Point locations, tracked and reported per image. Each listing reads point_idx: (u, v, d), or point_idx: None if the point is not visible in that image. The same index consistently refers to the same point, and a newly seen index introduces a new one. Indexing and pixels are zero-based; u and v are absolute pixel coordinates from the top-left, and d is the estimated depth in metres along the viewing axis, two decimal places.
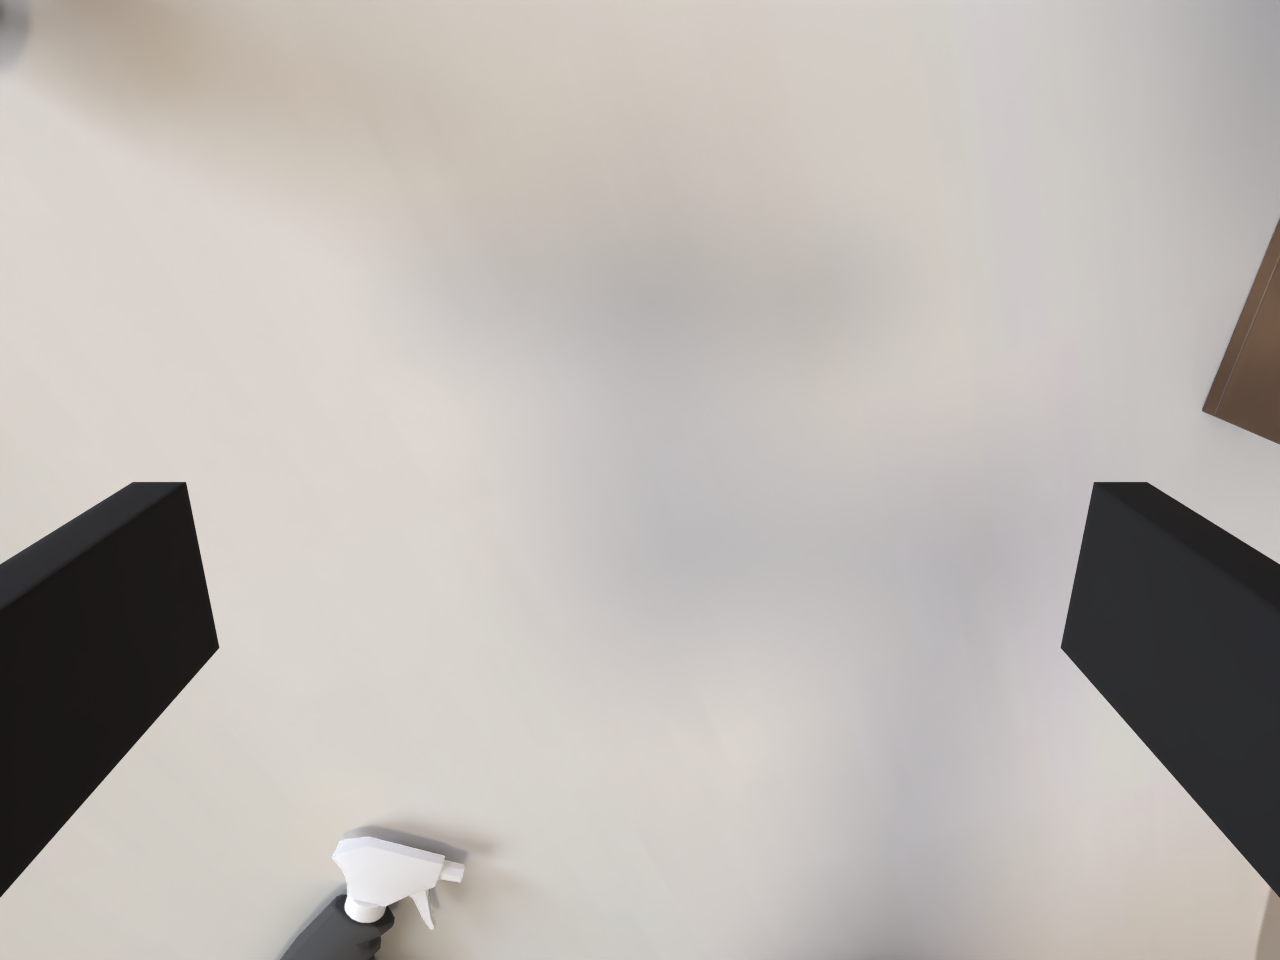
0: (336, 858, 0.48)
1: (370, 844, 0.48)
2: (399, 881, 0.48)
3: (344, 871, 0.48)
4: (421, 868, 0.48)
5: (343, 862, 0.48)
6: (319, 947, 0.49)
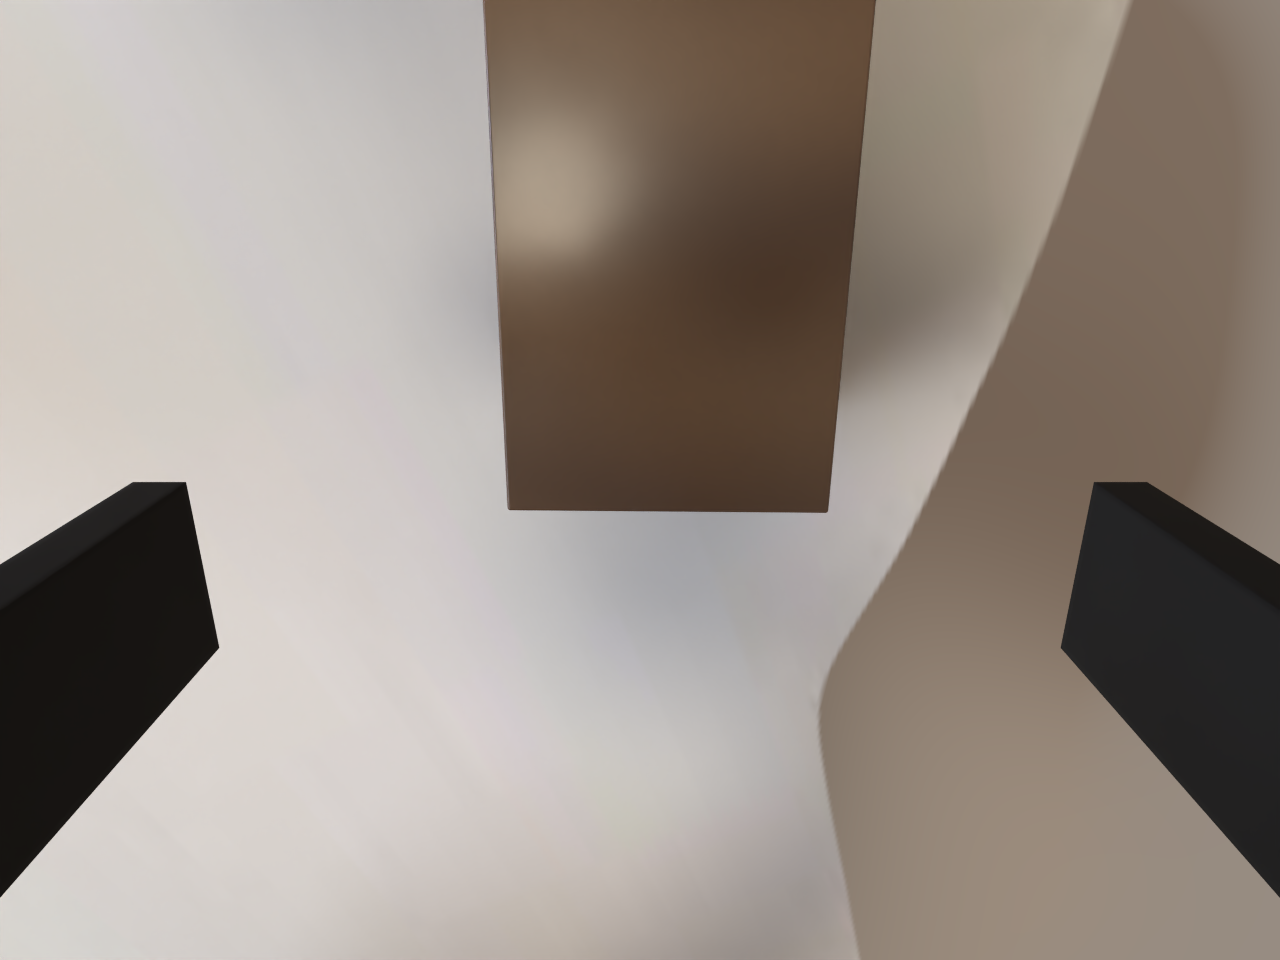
0: None
1: None
2: None
3: None
4: None
5: None
6: None
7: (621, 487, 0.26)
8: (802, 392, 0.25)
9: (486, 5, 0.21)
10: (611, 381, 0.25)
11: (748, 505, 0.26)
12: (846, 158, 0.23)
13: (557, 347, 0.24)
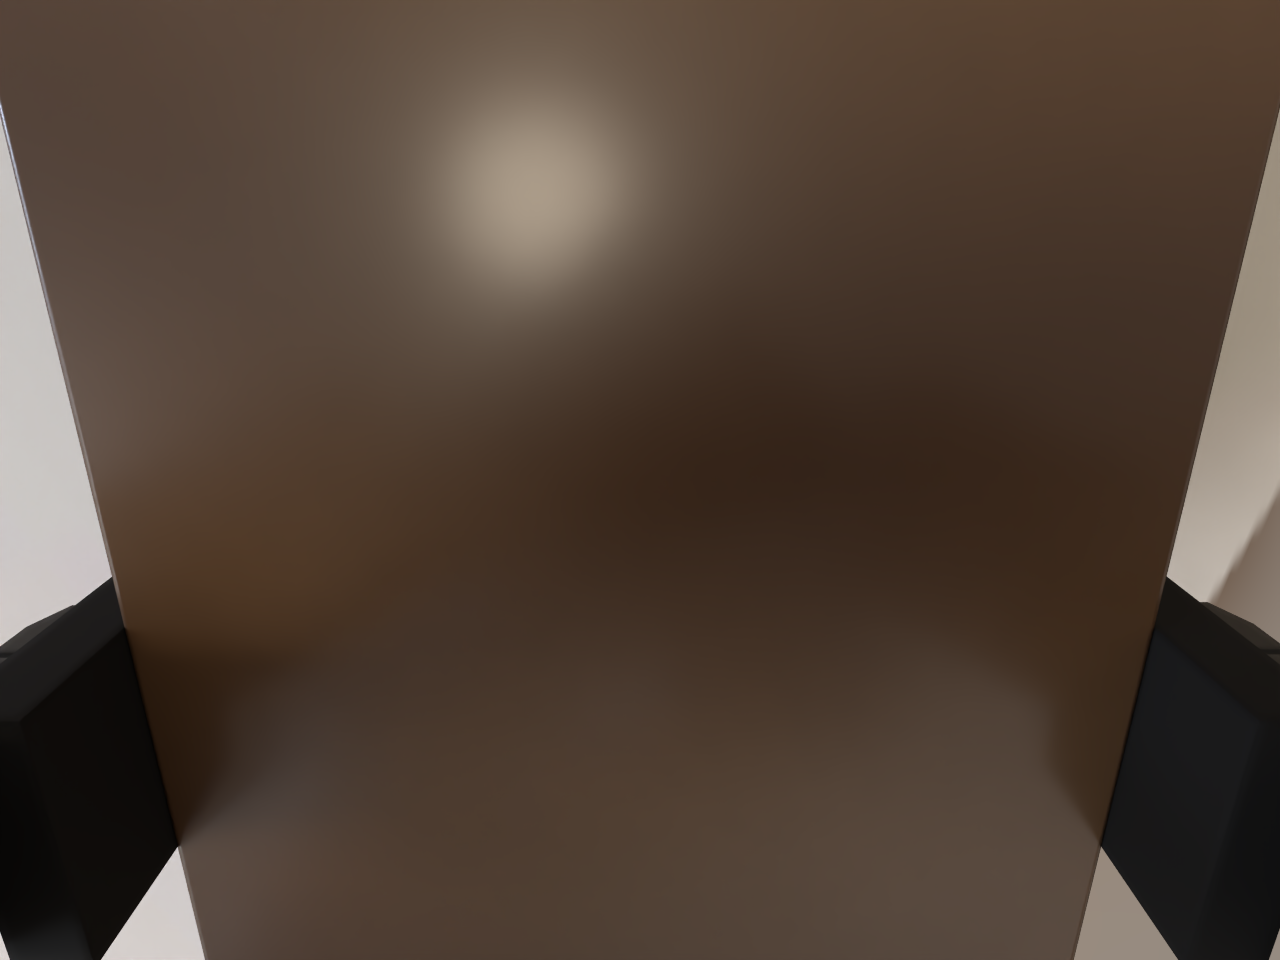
0: None
1: None
2: None
3: None
4: None
5: None
6: None
7: None
8: (1011, 797, 0.09)
9: None
10: (469, 775, 0.09)
11: None
12: (1228, 127, 0.07)
13: (306, 693, 0.08)
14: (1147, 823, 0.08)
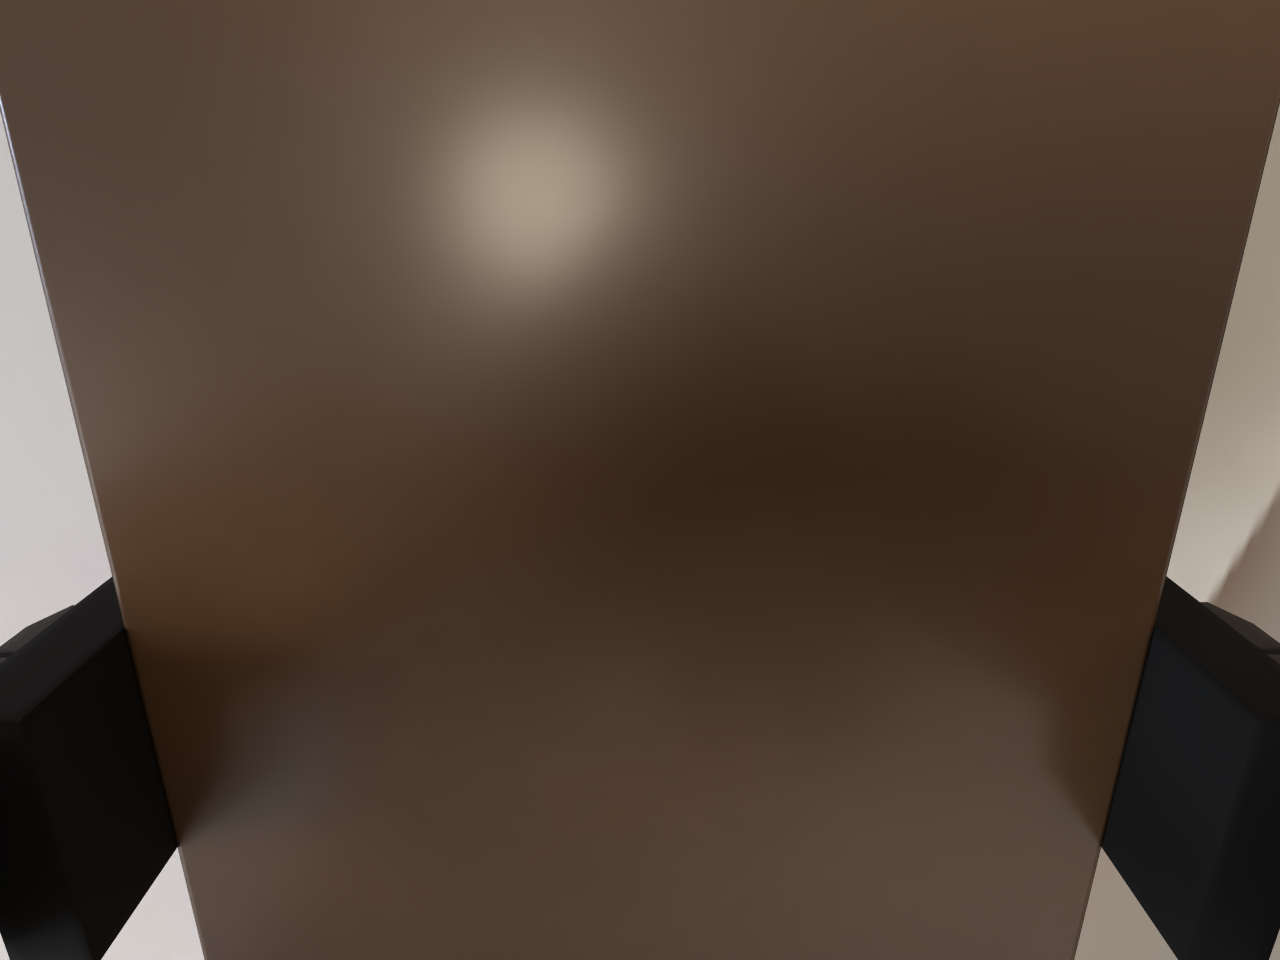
0: None
1: None
2: None
3: None
4: None
5: None
6: None
7: None
8: (1011, 796, 0.09)
9: None
10: (470, 775, 0.09)
11: None
12: (1226, 127, 0.07)
13: (306, 693, 0.08)
14: (1147, 823, 0.08)
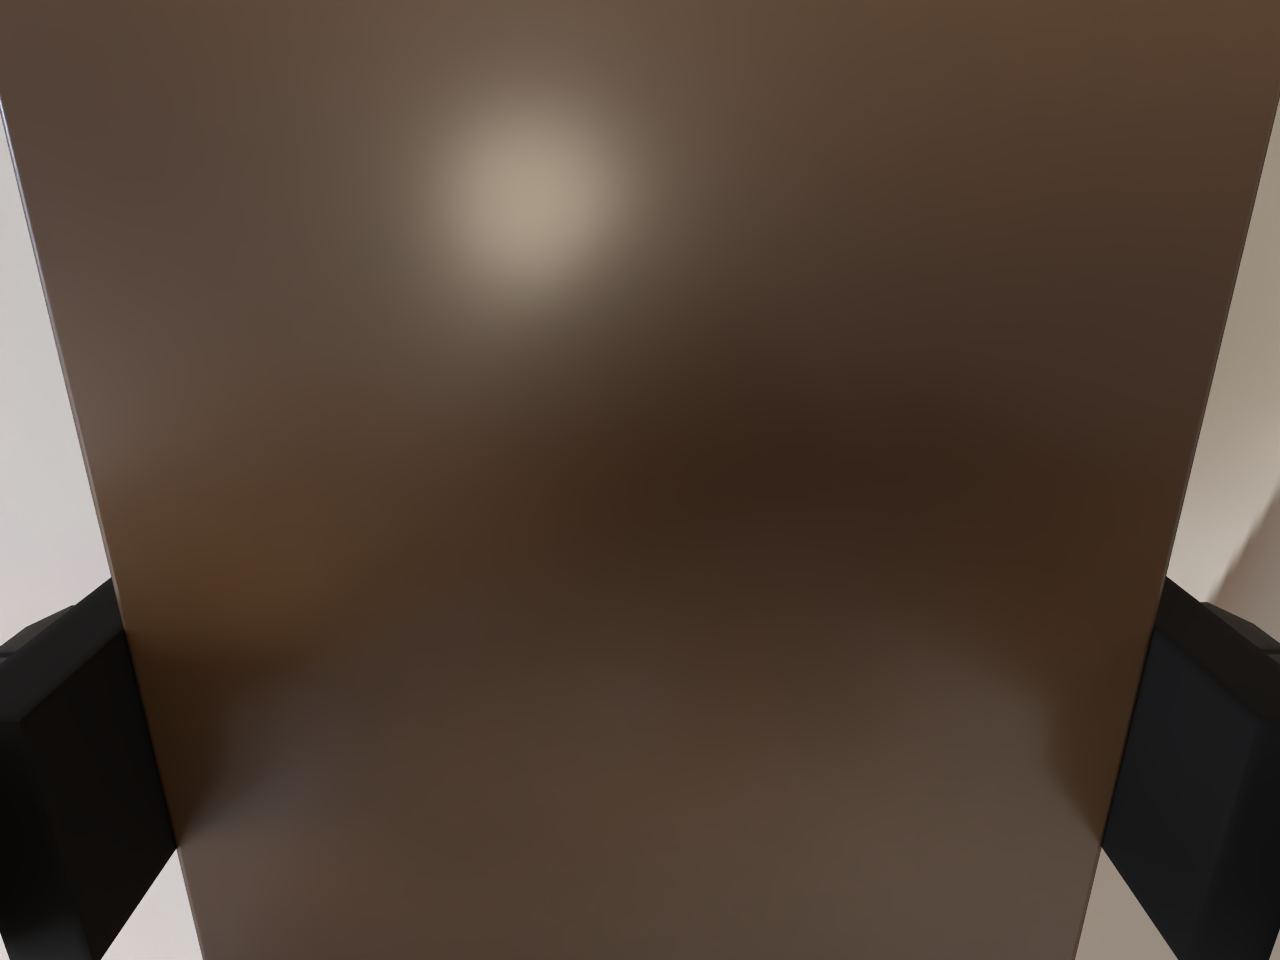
0: None
1: None
2: None
3: None
4: None
5: None
6: None
7: None
8: (1012, 796, 0.09)
9: None
10: (469, 774, 0.09)
11: None
12: (1226, 125, 0.07)
13: (305, 693, 0.08)
14: (1147, 823, 0.08)
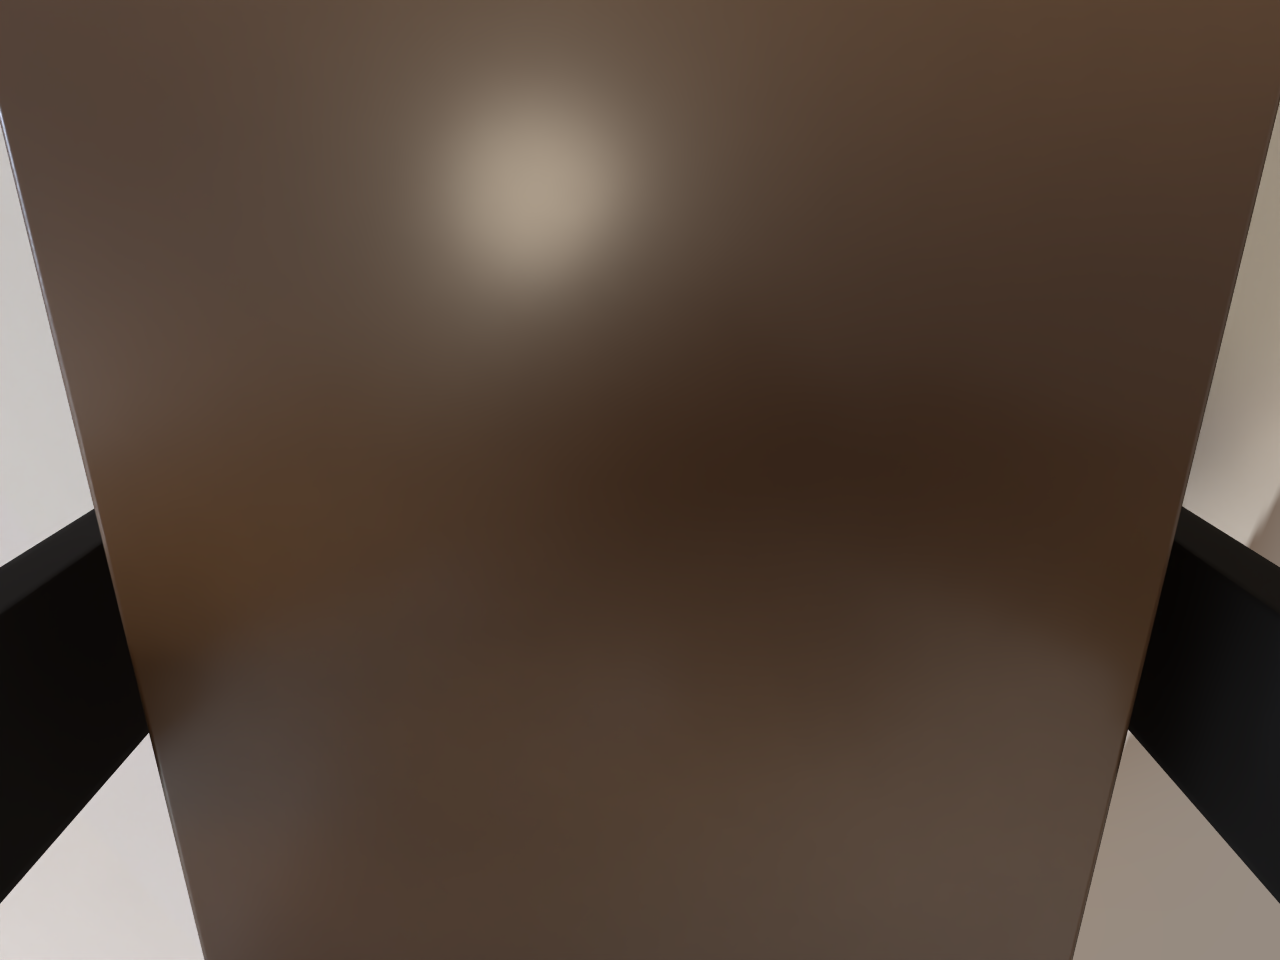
0: None
1: None
2: None
3: None
4: None
5: None
6: None
7: None
8: (1012, 784, 0.09)
9: None
10: (467, 761, 0.09)
11: None
12: (1230, 105, 0.07)
13: (302, 679, 0.08)
14: None
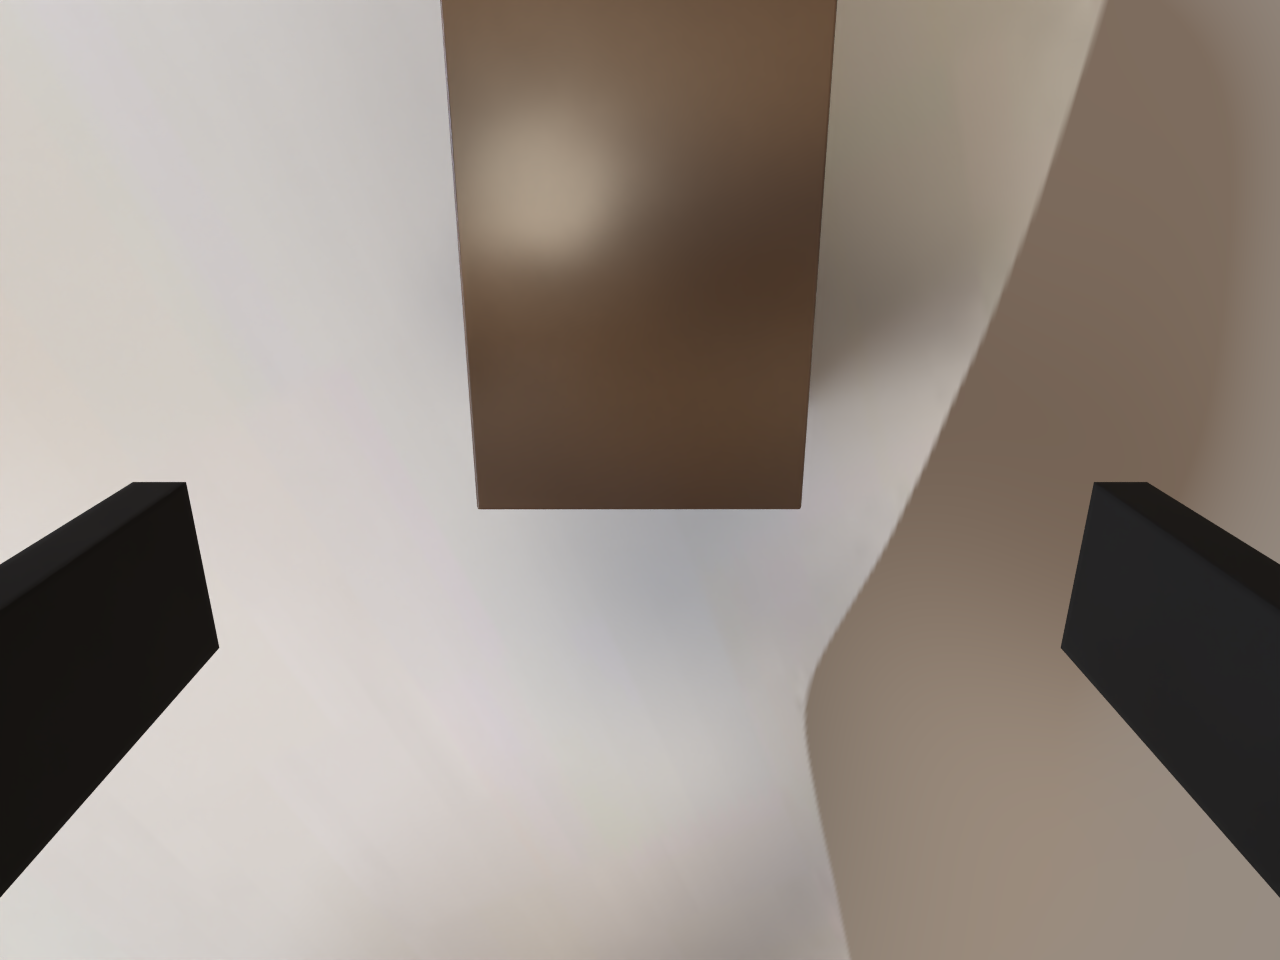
0: None
1: None
2: None
3: None
4: None
5: None
6: None
7: (591, 485, 0.26)
8: (772, 387, 0.25)
9: None
10: (578, 378, 0.24)
11: (720, 502, 0.26)
12: (811, 149, 0.22)
13: (523, 344, 0.24)
14: None
